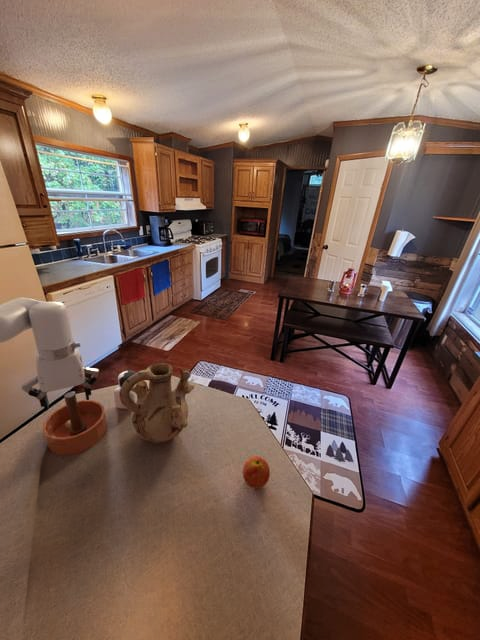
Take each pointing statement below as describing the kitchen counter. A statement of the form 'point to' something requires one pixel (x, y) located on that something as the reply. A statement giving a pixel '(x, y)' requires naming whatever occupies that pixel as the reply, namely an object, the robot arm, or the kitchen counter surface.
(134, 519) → the kitchen counter surface
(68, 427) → the dumpling
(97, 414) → the bowl
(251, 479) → the fruit
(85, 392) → the robot arm
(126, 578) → the kitchen counter surface
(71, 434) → the pestle
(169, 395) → the ceramic vessel
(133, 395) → the medicine bottle
